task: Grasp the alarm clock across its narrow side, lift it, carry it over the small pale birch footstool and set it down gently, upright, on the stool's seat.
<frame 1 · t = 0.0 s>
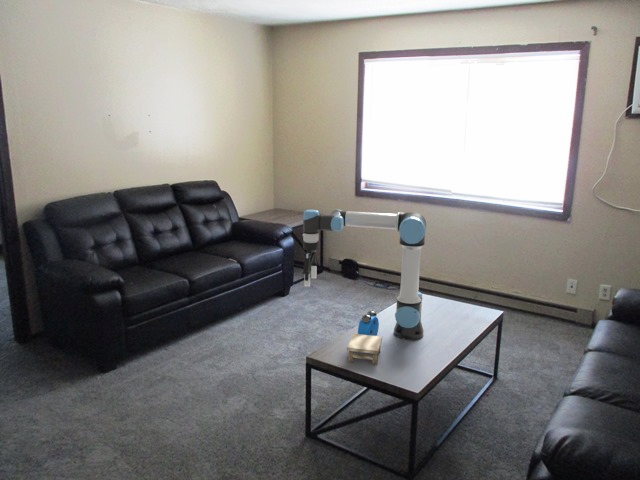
hand: (310, 282, 269), 28 cm above the table, fingers open, 13 cm apart
stool: (364, 356, 252), on the table
alarm clock: (368, 341, 269), on the table
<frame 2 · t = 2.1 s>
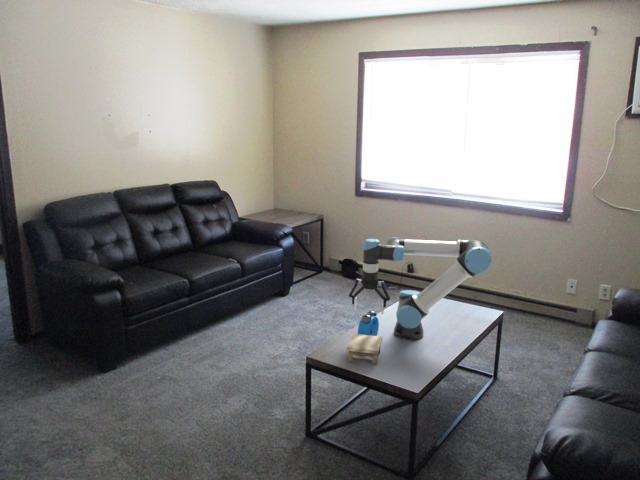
hand: (368, 311, 265), 15 cm above the table, fingers open, 13 cm apart
nothing on the table moved.
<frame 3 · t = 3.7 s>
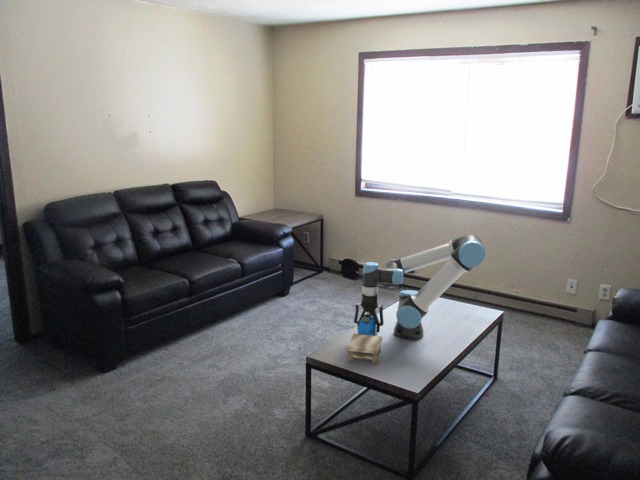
hand: (368, 337, 268), 2 cm above the table, fingers closed on alarm clock, 7 cm apart
alarm clock: (368, 341, 269), on the table, touching gripper
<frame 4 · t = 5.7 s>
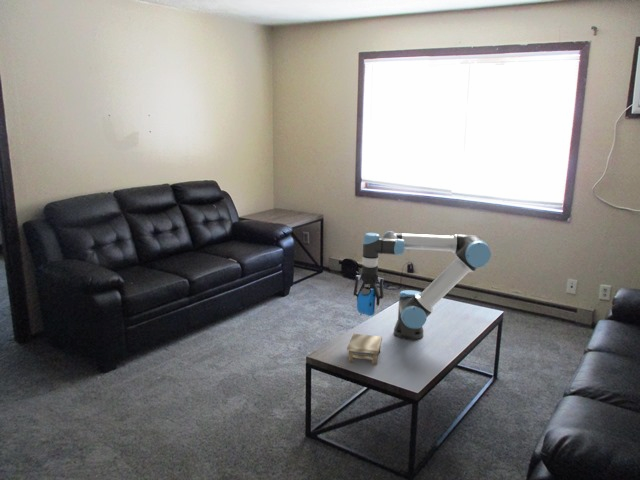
hand: (367, 310, 262), 17 cm above the table, fingers closed on alarm clock, 7 cm apart
alarm clock: (367, 314, 263), point 15 cm above the table, touching gripper
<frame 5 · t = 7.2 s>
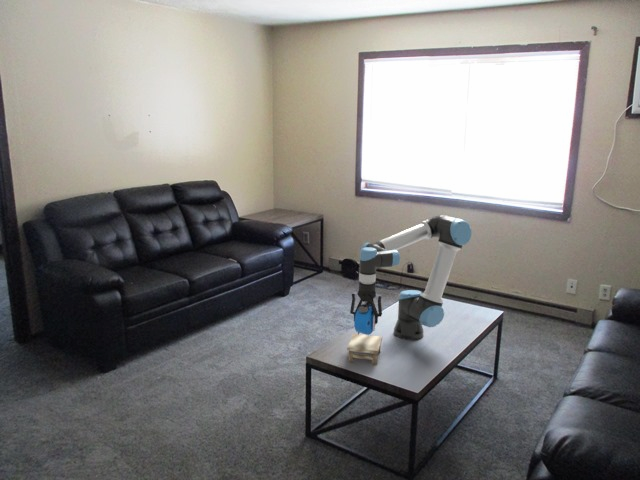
hand: (365, 328, 248), 14 cm above the table, fingers closed on alarm clock, 7 cm apart
alarm clock: (365, 333, 249), point 12 cm above the table, touching gripper
when the fingers open (11 cm above the table, at t = 8.0 s): alarm clock drops 1 cm, resting on stool.
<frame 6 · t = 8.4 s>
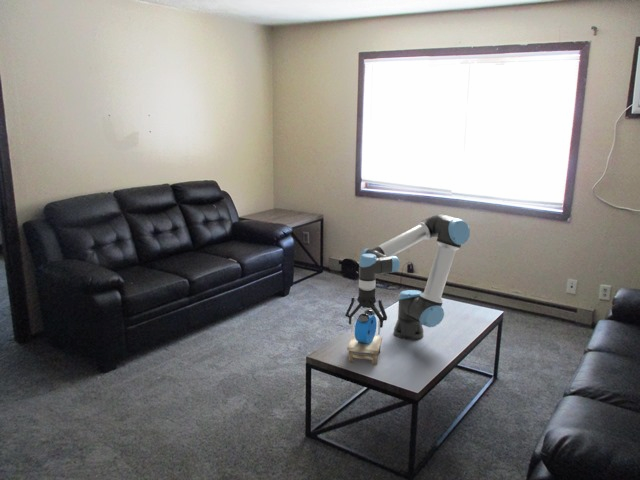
hand: (365, 332, 249), 12 cm above the table, fingers open, 12 cm apart
alarm clock: (365, 342, 250), point 7 cm above the table, touching stool
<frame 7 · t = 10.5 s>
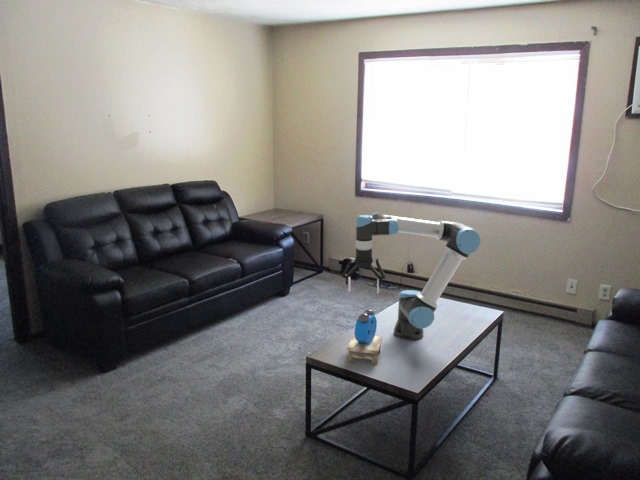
hand: (363, 291, 254), 29 cm above the table, fingers open, 13 cm apart
nothing on the table moved.
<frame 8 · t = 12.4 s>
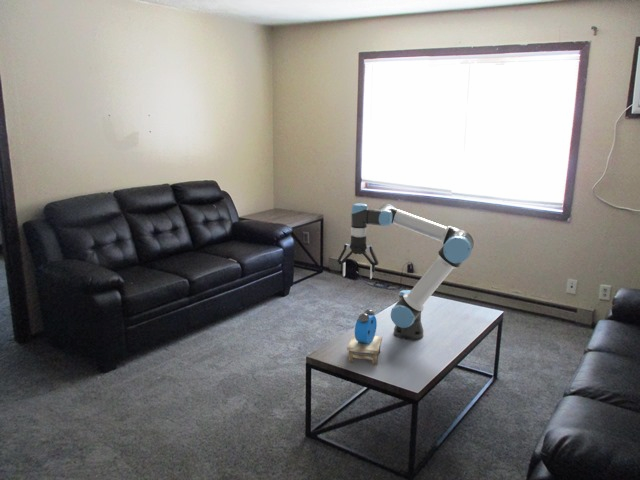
hand: (357, 277, 267), 32 cm above the table, fingers open, 13 cm apart
nothing on the table moved.
at the end: alarm clock inside the target area on the stool (0.1 cm from its centre), point 7.3 cm above the stool's base; alarm clock touching stool; alarm clock tilted 0° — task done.
